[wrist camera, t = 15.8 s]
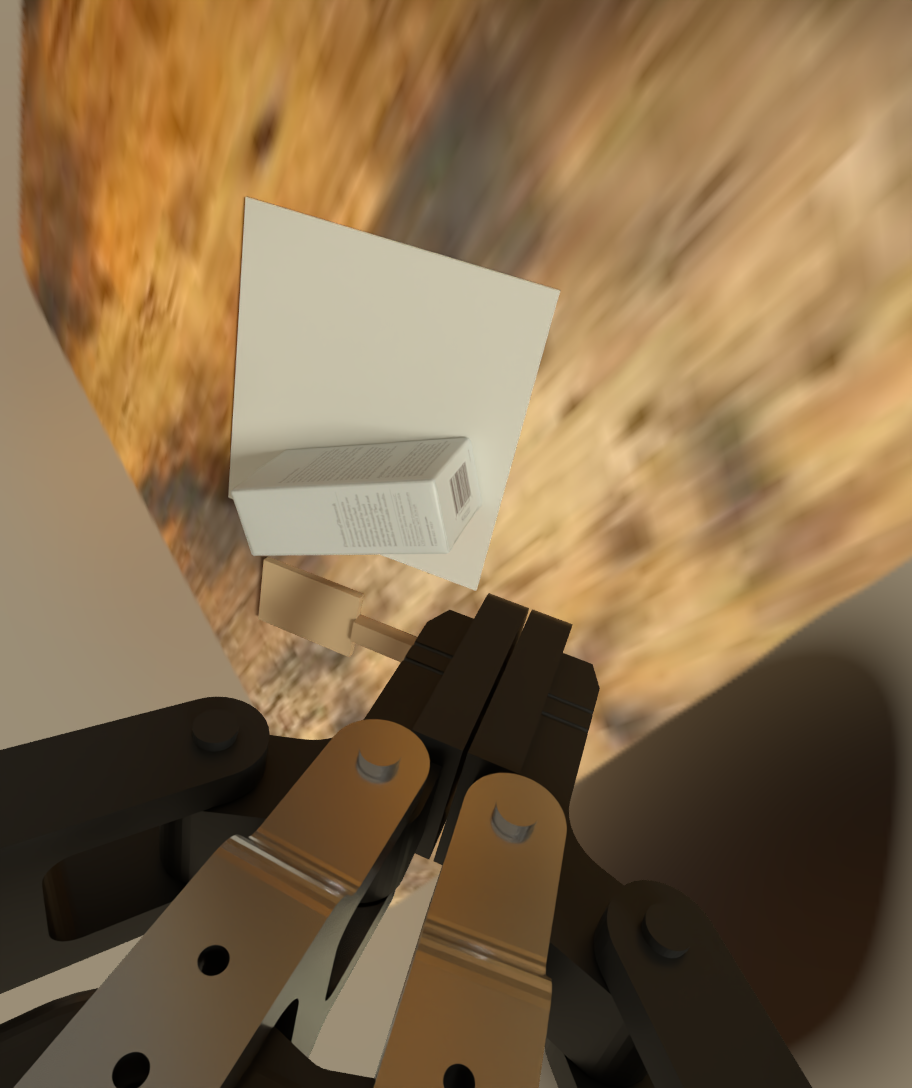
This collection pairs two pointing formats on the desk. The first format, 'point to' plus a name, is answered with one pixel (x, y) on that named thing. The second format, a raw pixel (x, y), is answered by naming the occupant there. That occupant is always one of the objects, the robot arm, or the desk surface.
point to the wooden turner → (324, 612)
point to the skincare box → (361, 499)
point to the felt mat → (382, 356)
